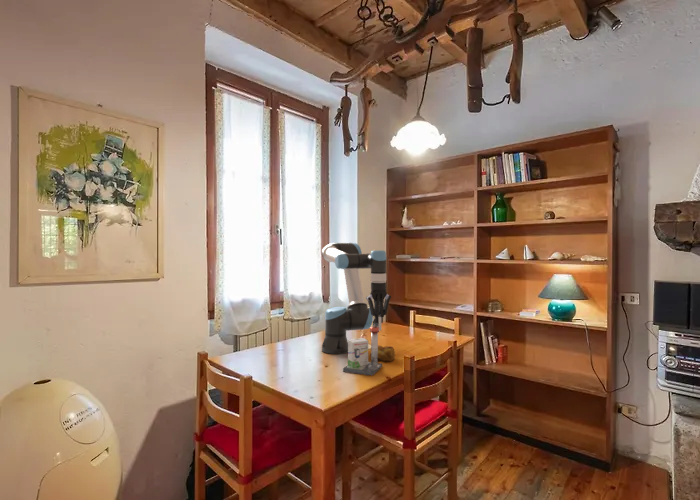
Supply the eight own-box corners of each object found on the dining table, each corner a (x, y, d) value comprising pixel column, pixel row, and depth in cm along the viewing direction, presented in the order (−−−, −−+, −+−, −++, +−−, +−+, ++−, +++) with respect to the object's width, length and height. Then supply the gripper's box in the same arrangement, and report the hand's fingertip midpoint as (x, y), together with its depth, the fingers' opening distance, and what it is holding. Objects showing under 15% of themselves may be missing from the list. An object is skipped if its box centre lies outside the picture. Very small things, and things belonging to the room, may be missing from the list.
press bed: (343, 371, 170) (343, 332, 170) (354, 362, 183) (355, 326, 183) (373, 376, 164) (374, 336, 164) (383, 366, 177) (383, 329, 177)
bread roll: (367, 360, 187) (368, 344, 187) (374, 355, 196) (374, 340, 196) (392, 363, 182) (392, 347, 182) (397, 358, 191) (398, 342, 191)
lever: (370, 334, 170) (370, 326, 170) (371, 326, 187) (371, 318, 187) (378, 335, 169) (379, 326, 169) (379, 326, 187) (379, 318, 187)
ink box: (363, 362, 179) (363, 337, 179) (368, 365, 174) (368, 340, 174) (347, 364, 175) (347, 339, 175) (352, 367, 170) (352, 342, 170)
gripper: (386, 280, 188) (386, 327, 189) (363, 281, 183) (363, 329, 183) (393, 282, 181) (394, 330, 182) (370, 283, 176) (370, 333, 177)
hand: (378, 329), depth 183 cm, fingers closed
